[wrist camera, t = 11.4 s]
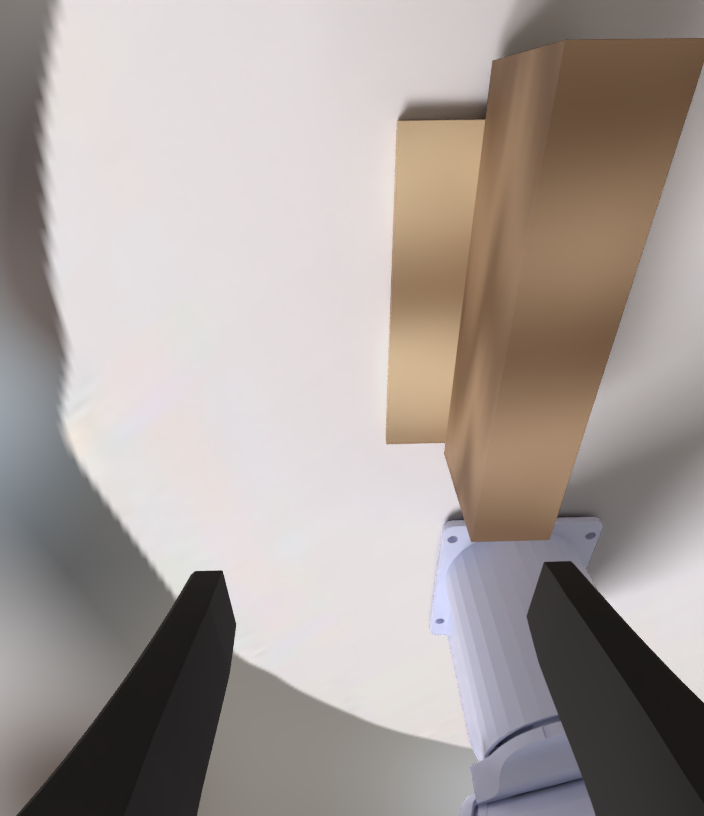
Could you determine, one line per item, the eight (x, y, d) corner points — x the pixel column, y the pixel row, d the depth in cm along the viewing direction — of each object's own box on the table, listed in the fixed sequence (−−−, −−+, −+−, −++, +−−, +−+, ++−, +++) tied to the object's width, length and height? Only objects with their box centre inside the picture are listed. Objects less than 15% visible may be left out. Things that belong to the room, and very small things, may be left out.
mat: (565, 434, 21) (568, 439, 20) (385, 438, 21) (386, 443, 20) (659, 116, 14) (666, 117, 14) (397, 120, 14) (398, 120, 14)
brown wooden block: (506, 452, 21) (549, 539, 16) (444, 453, 21) (470, 542, 16) (591, 59, 13) (711, 37, 9) (492, 60, 13) (565, 39, 9)
